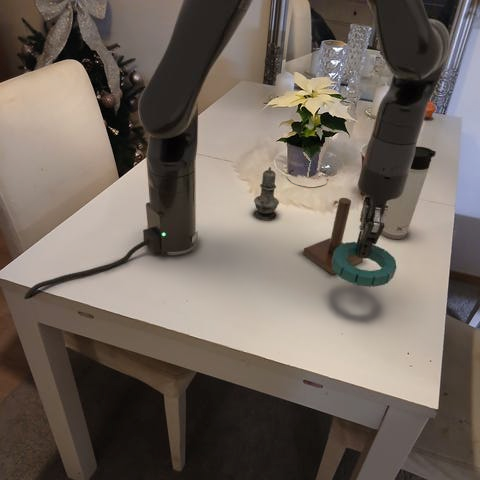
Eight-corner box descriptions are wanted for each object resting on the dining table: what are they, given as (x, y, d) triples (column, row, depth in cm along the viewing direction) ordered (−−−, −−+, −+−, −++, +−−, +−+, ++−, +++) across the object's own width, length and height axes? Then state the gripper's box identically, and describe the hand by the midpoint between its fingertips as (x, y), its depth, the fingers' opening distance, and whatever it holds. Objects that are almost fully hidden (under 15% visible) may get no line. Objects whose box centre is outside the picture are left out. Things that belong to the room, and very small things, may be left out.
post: (332, 275, 97) (345, 216, 89) (302, 254, 103) (312, 196, 94) (362, 262, 102) (377, 204, 93) (332, 242, 107) (344, 186, 98)
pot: (431, 122, 171) (432, 102, 167) (409, 122, 175) (410, 103, 171) (437, 116, 176) (439, 96, 172) (416, 116, 180) (417, 97, 176)
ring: (363, 294, 80) (366, 285, 79) (318, 261, 87) (320, 252, 85) (406, 274, 85) (410, 265, 84) (360, 244, 92) (363, 235, 91)
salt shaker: (275, 222, 112) (281, 174, 104) (250, 218, 113) (254, 170, 105) (278, 210, 116) (284, 163, 108) (255, 207, 117) (259, 159, 109)
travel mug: (403, 243, 108) (431, 157, 95) (375, 233, 111) (399, 149, 98) (411, 231, 112) (439, 148, 99) (384, 222, 115) (408, 140, 102)
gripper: (362, 145, 83) (341, 231, 95) (365, 178, 73) (341, 271, 84) (405, 150, 82) (379, 236, 94) (415, 185, 72) (384, 277, 84)
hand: (361, 252), depth 89 cm, fingers closed on ring, 2 cm apart
